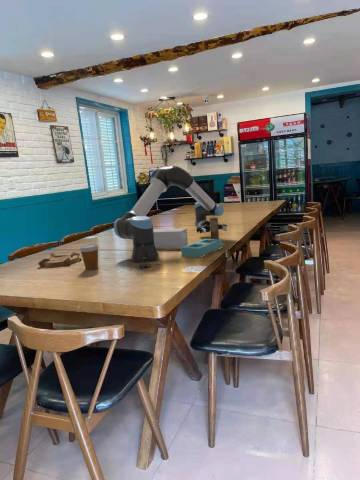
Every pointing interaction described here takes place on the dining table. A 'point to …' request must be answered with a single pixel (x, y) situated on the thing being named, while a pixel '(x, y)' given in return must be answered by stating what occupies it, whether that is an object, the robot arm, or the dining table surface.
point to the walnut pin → (214, 228)
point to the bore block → (201, 247)
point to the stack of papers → (170, 238)
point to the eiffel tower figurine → (144, 262)
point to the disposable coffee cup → (90, 256)
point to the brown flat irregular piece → (59, 260)
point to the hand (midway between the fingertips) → (215, 230)
